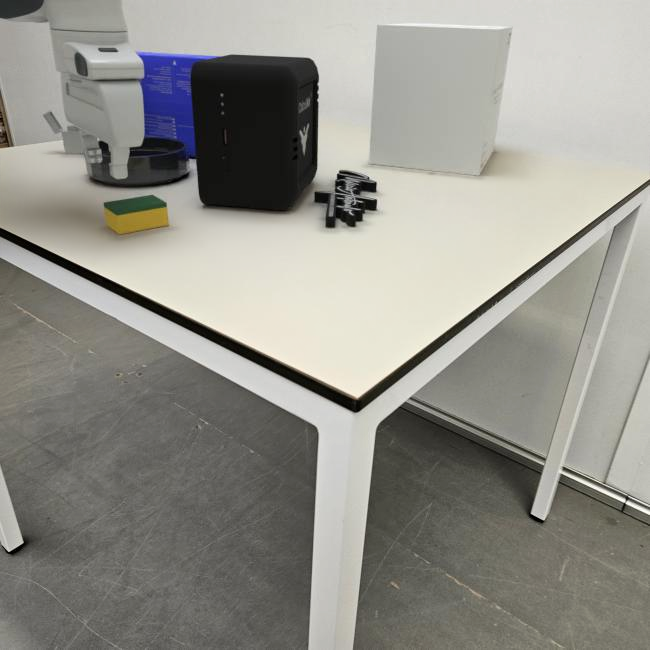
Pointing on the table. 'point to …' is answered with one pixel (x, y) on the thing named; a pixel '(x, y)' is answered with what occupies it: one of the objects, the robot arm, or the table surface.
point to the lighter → (66, 135)
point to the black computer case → (255, 129)
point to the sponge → (136, 214)
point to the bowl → (145, 163)
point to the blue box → (169, 96)
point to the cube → (437, 95)
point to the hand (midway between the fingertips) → (106, 169)
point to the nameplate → (347, 198)
